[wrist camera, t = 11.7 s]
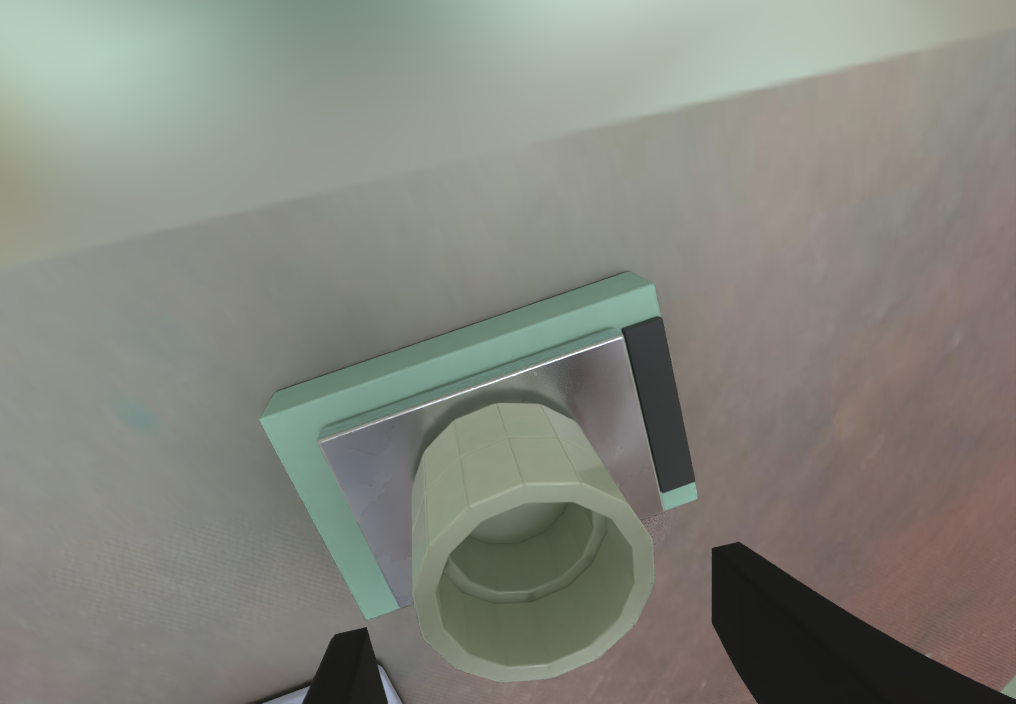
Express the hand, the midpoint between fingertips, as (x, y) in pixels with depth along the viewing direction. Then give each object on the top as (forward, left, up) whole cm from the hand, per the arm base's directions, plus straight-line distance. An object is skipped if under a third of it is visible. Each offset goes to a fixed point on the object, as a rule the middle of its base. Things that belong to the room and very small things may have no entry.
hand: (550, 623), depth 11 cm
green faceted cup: (0, 0, -6) cm, 6 cm away
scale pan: (0, 0, -6) cm, 6 cm away
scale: (0, 0, -8) cm, 8 cm away
